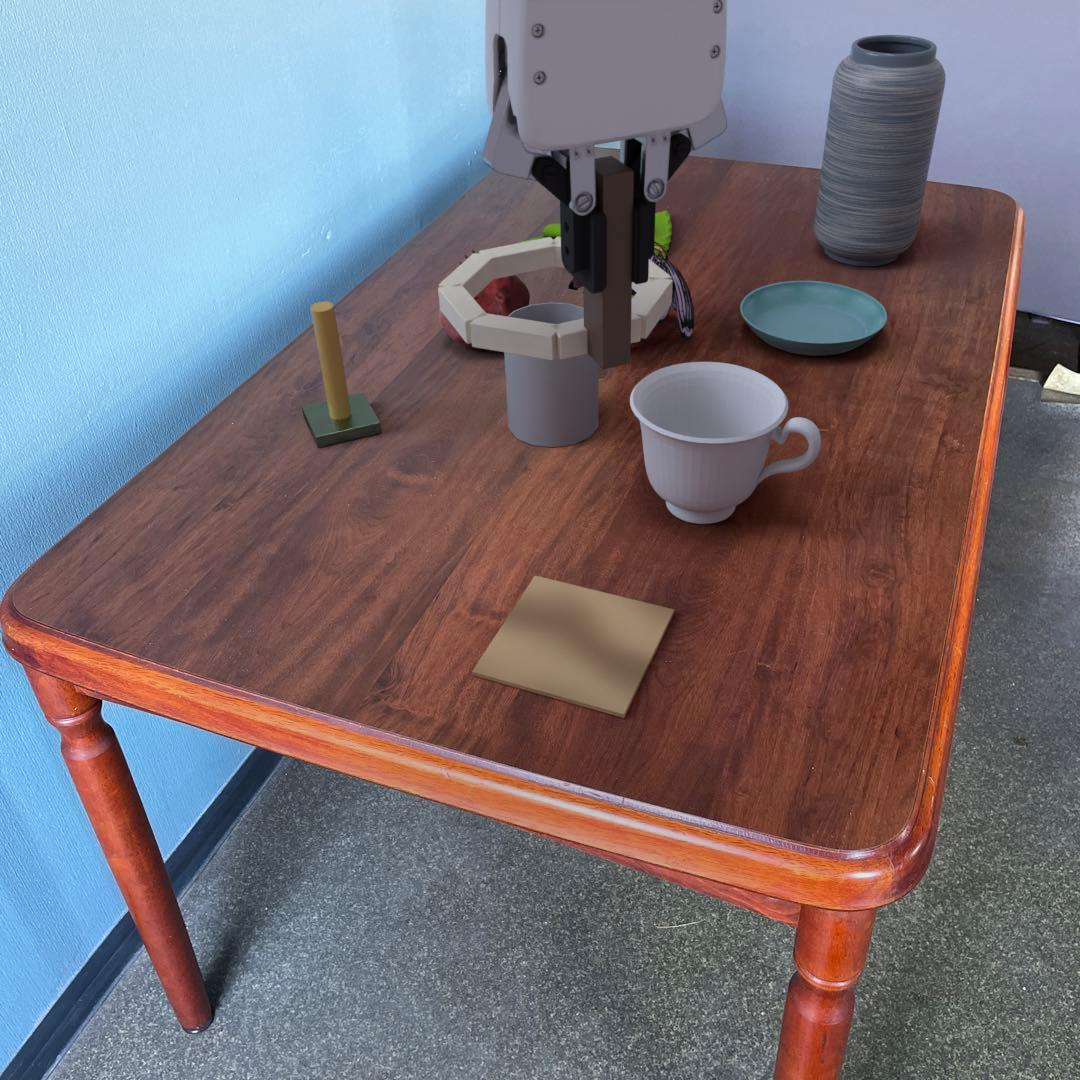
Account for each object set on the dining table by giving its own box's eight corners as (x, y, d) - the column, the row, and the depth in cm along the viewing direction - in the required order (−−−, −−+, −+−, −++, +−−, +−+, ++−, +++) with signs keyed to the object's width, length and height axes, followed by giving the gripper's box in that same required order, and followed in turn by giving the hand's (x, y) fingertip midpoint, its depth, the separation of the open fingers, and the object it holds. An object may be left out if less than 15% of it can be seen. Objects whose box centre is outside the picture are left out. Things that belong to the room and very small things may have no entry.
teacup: (784, 575, 81) (800, 464, 75) (603, 525, 86) (604, 419, 80) (827, 491, 89) (844, 385, 83) (659, 451, 95) (664, 349, 89)
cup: (497, 441, 97) (491, 341, 91) (520, 396, 103) (515, 299, 97) (589, 451, 95) (588, 349, 89) (606, 404, 101) (607, 306, 95)
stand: (317, 448, 97) (294, 327, 90) (303, 416, 101) (280, 299, 94) (382, 433, 99) (364, 313, 91) (365, 403, 103) (347, 286, 96)
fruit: (548, 332, 114) (545, 242, 107) (496, 370, 107) (490, 276, 101) (478, 313, 118) (472, 225, 112) (424, 349, 112) (414, 257, 105)
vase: (792, 255, 127) (817, 47, 113) (842, 225, 134) (871, 26, 120) (882, 280, 121) (919, 64, 107) (929, 248, 128) (971, 40, 114)
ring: (419, 284, 64) (400, 111, 58) (607, 246, 68) (607, 79, 62) (504, 393, 54) (492, 196, 48) (722, 341, 57) (736, 151, 51)
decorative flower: (744, 259, 103) (598, 232, 98) (715, 379, 106) (573, 357, 102) (685, 245, 116) (555, 220, 112) (662, 352, 120) (534, 331, 115)
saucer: (914, 344, 109) (919, 320, 107) (797, 381, 104) (800, 356, 102) (821, 291, 119) (824, 268, 118) (710, 321, 114) (711, 298, 113)
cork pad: (624, 718, 70) (624, 714, 70) (472, 675, 74) (471, 671, 73) (674, 613, 78) (674, 609, 78) (534, 579, 81) (534, 575, 81)
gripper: (734, -180, 47) (708, 225, 59) (391, -153, 43) (434, 280, 54) (833, -169, 42) (784, 276, 53) (451, -136, 37) (485, 342, 49)
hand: (607, 275), depth 54 cm, fingers closed on ring
